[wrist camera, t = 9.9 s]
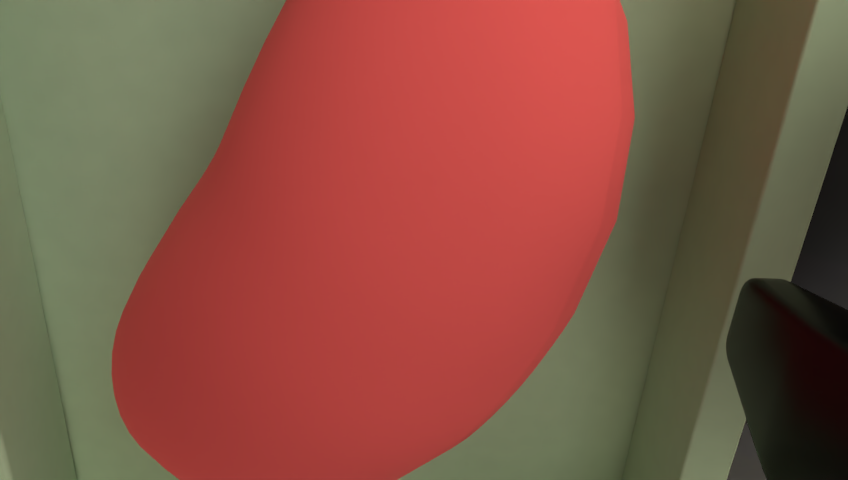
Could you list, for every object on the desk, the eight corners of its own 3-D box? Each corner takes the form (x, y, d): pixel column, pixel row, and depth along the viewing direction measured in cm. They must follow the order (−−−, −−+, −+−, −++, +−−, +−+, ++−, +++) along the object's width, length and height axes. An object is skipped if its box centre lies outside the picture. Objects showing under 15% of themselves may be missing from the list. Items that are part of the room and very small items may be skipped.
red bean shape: (668, 129, 14) (874, 27, 8) (341, 543, 14) (279, 787, 8) (431, -58, 14) (445, -313, 8) (102, 352, 14) (-159, 436, 8)
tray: (640, 502, 17) (682, 619, 15) (56, 496, 16) (-1, 619, 14) (882, -430, 10) (1048, -504, 7) (-167, -525, 9) (-371, -642, 7)
